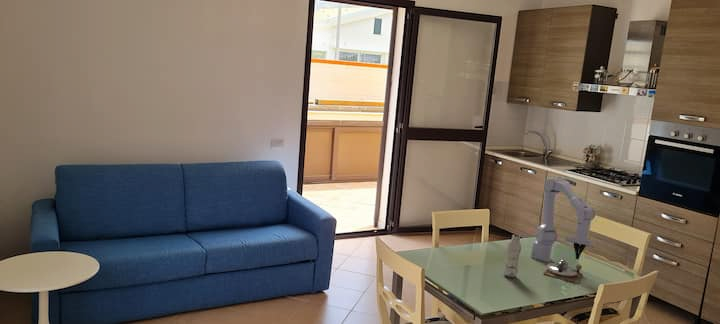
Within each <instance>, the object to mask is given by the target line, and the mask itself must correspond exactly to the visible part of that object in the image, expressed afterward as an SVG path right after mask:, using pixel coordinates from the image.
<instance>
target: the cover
mask: <svg viewBox="0 0 720 324" xmlns="http://www.w3.org/2000/svg"><path fill="white" fill-rule="evenodd" d="M556 263H557V268H558V269H559V263H563V264H564V266H563V270H567V267H568V266H569V263H568V262H567V260H565V259H560V260H558V261H557V262H556Z"/></svg>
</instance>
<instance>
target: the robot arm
mask: <svg viewBox="0 0 720 324" xmlns="http://www.w3.org/2000/svg"><path fill="white" fill-rule="evenodd" d="M543 191H544V192H543V208H542V220H541V221H542V223H541V225H539V226H538V227H537V230H536V233H535V239H536V240H533V244H532V248H531V254H530V258H531V259H535V260H539V261H543V262H547V263H550V262H551V260H552V257H551V255H552V248H553V244H555V242H557V240H558V234H557V227H555V225H554V215H555V213H554V212H555V202H556V201H555V200H556V199H555V198H556V195H557V194H559V193H563V195H564V196H565V197H566V198H567V199H568V200H569V205H570V206H571V208H572V209H573V210H574V211H575V213H576V216H577V220H576V222H577V224H576V231H575V235H574V237H569V236H565V237H564V242H566V243H572V244H573V249H574V253H575V259H576V260H580V257H581V255H582V253H583V251H585V249H586V247H589V248H593V249H595V250H596V249H597V243H594V242H591V241H589V240H588V239H589V234H590V230H591V229H590V228H591V224H592V220H594V219H595V217H596V211H595V210H594V208H593V207H590V206H588V205H587V204H586V202H585V201H584V200H583V198H582V197H580V196H576V194H575V193H574V191H573V189H572V188H571V187H570V184H569V181H567V178H564V177H563V178H560V177H556V178H555V177H548V178H547V179H546V180H544V190H543Z"/></svg>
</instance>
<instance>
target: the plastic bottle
mask: <svg viewBox="0 0 720 324" xmlns="http://www.w3.org/2000/svg"><path fill="white" fill-rule="evenodd" d="M520 241H521V236H520V235H518V234H512V236H511V240H510V242H508V244H507V247H506V248H507V251H506V253H507V254H506V260H505V264H504V267H503V272H502V273H503V275H504V276H505V277H508V278H515V277H516V276H517V275H518V263H519V258H520V254H521V251H522V245H521V242H520Z"/></svg>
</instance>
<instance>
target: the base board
mask: <svg viewBox="0 0 720 324" xmlns="http://www.w3.org/2000/svg"><path fill="white" fill-rule="evenodd" d="M582 268H583V266H582V265H581V264H579V263H578V264H576V265H575V269H576V270H577V275H576V276H575V277H563V276H558V275H555V274H553V273H551V272H549V271H548V270H547V268H546V269H545V271H544V272H543V275H544V276H548V277H551V278H554V279H558V280H561V281H565V282H569V283H573V284H577V285H578V284H579V282H580V280H581V278H582V276H583V272H580V271H581V270H582Z"/></svg>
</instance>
